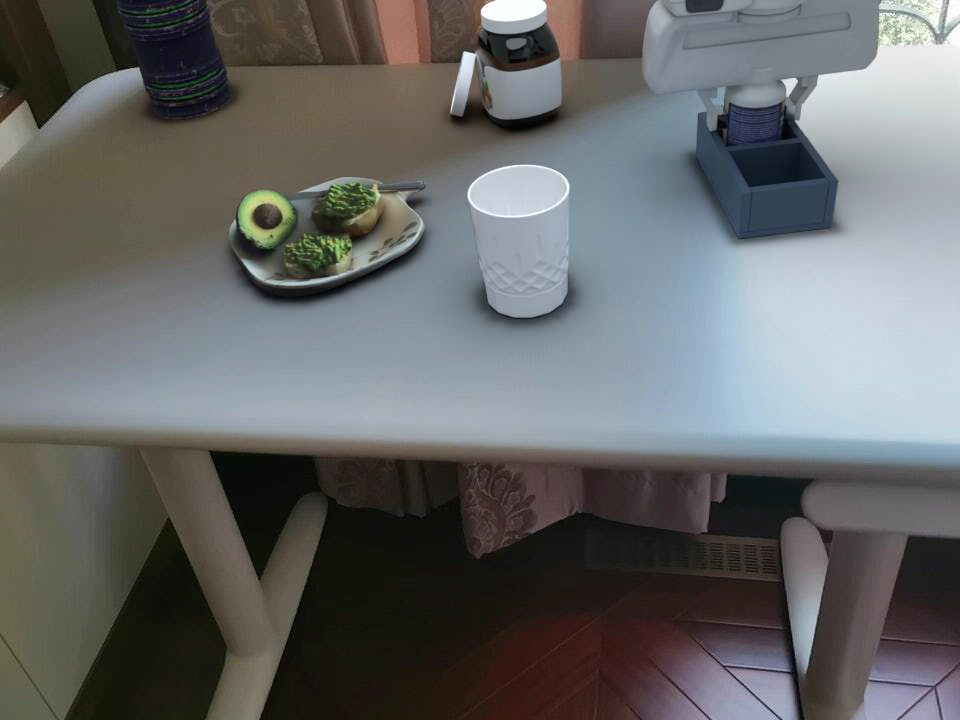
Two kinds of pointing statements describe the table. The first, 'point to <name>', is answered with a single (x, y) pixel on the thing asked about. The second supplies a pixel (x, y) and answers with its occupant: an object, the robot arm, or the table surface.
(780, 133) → the pill bottle
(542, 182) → the white cup
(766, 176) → the divided storage box
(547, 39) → the spread jar
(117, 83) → the table surface
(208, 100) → the storage jar
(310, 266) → the avocado toast plate
